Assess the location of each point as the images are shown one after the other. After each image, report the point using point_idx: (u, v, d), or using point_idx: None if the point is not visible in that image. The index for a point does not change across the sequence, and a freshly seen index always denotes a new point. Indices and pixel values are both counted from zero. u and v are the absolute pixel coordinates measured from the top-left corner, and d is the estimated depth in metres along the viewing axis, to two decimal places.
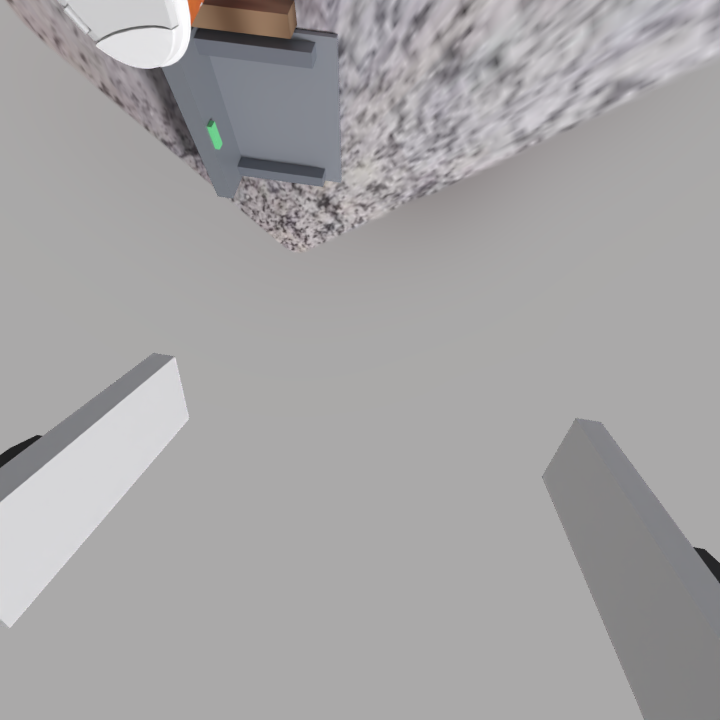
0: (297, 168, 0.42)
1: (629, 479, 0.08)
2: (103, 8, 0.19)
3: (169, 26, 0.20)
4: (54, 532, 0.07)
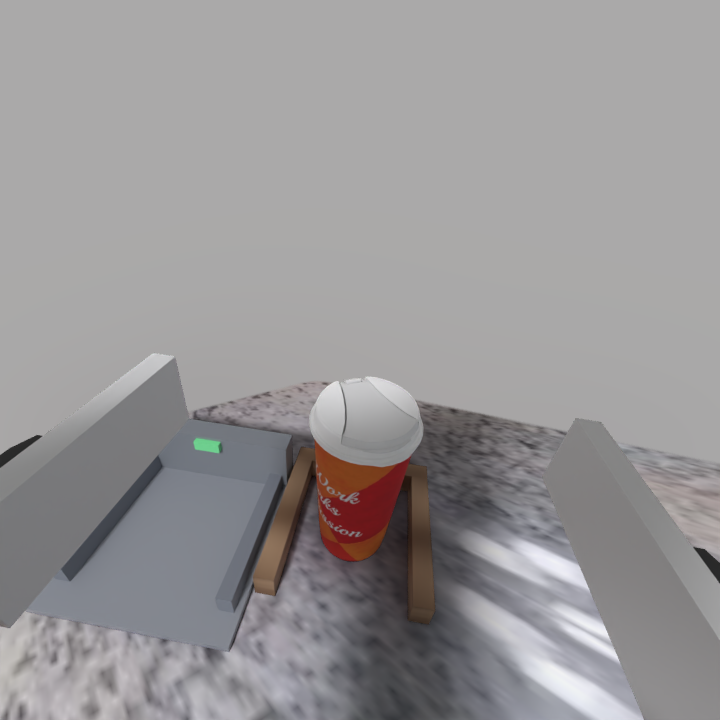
0: (103, 532, 0.28)
1: (629, 479, 0.08)
2: (358, 398, 0.24)
3: (344, 435, 0.21)
4: (54, 532, 0.07)
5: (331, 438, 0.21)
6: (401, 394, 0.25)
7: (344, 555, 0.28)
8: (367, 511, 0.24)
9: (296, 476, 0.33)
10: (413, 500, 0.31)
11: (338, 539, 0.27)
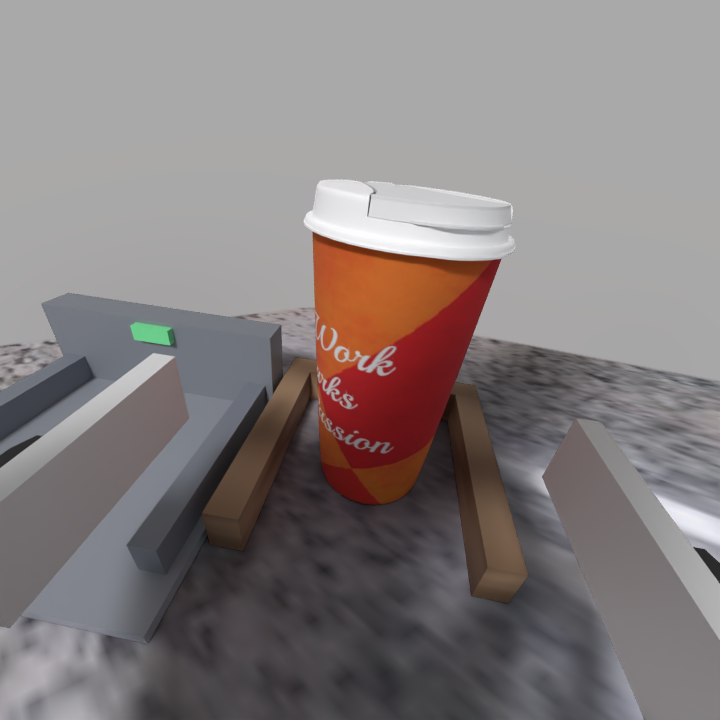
0: None
1: (629, 479, 0.08)
2: (394, 188, 0.13)
3: (374, 197, 0.10)
4: (54, 532, 0.07)
5: (347, 211, 0.10)
6: (468, 194, 0.14)
7: (359, 493, 0.17)
8: (406, 394, 0.13)
9: (286, 387, 0.22)
10: (462, 422, 0.21)
11: (351, 461, 0.16)
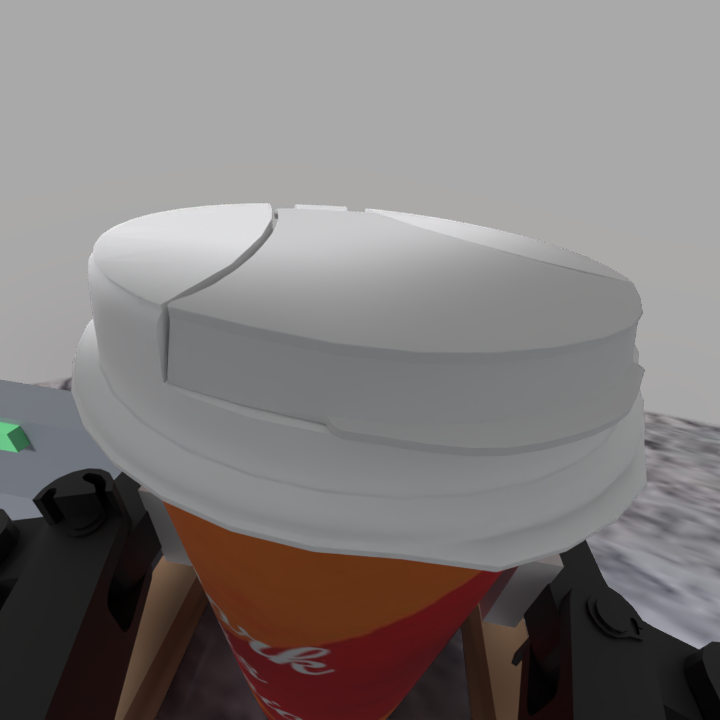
0: None
1: None
2: (334, 227, 0.06)
3: (188, 310, 0.03)
4: None
5: (115, 346, 0.03)
6: (497, 234, 0.07)
7: None
8: (367, 688, 0.06)
9: None
10: None
11: None
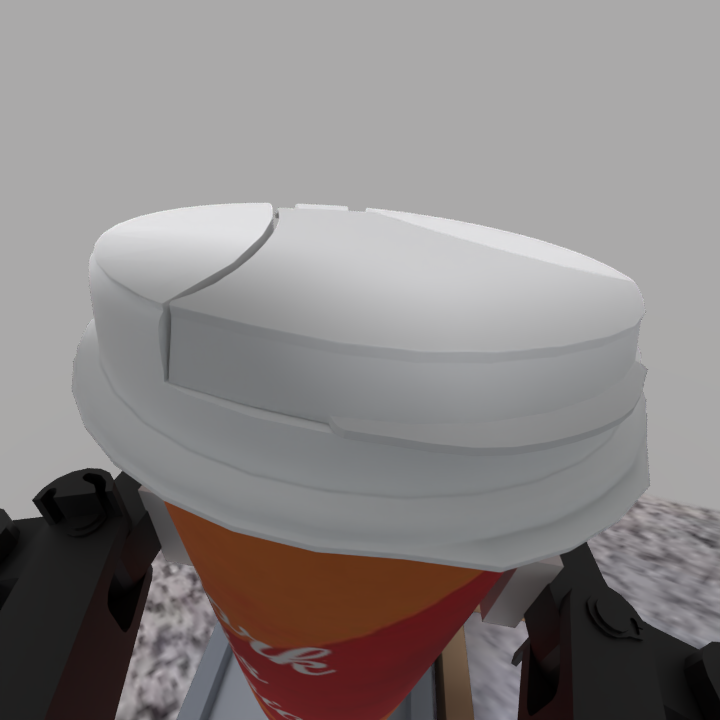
0: None
1: None
2: (336, 226, 0.06)
3: (189, 310, 0.03)
4: None
5: (116, 345, 0.03)
6: (498, 234, 0.07)
7: None
8: (368, 688, 0.06)
9: None
10: None
11: None
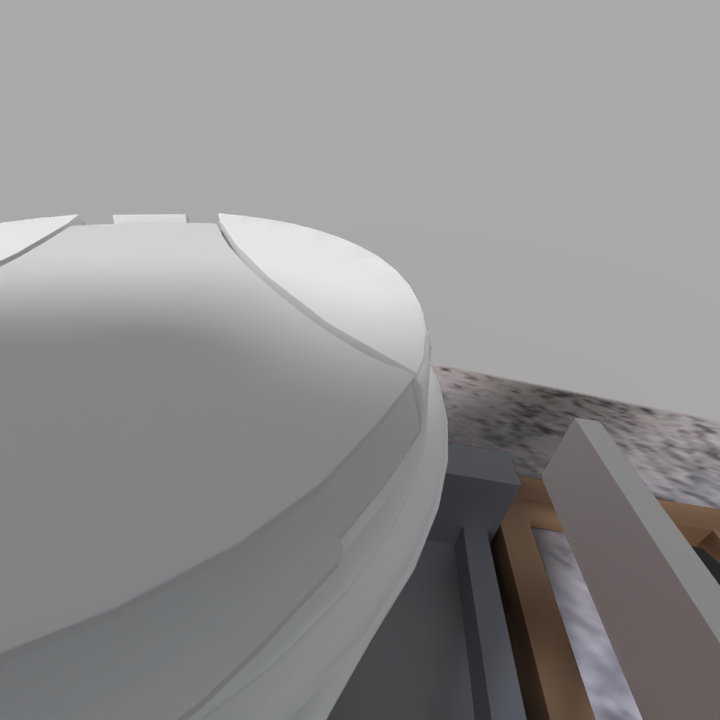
0: None
1: (627, 478, 0.08)
2: (92, 264, 0.04)
3: None
4: None
5: None
6: (342, 258, 0.05)
7: None
8: None
9: (513, 532, 0.17)
10: None
11: None
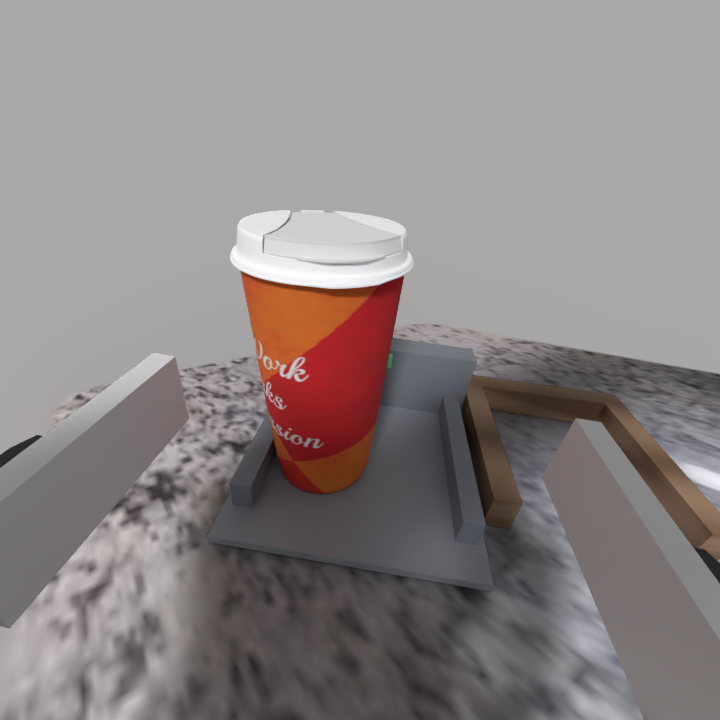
0: (272, 454, 0.22)
1: (629, 479, 0.08)
2: (312, 219, 0.15)
3: (267, 237, 0.12)
4: (54, 532, 0.07)
5: (250, 247, 0.13)
6: (382, 221, 0.16)
7: (304, 482, 0.20)
8: (323, 397, 0.15)
9: (475, 400, 0.27)
10: (625, 426, 0.26)
11: (292, 454, 0.18)
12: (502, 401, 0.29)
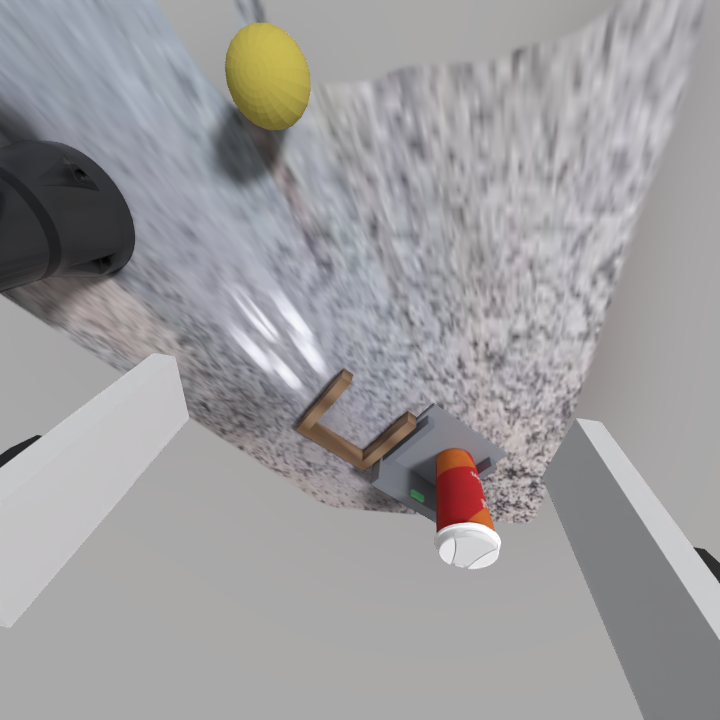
0: None
1: (629, 479, 0.08)
2: (469, 557, 0.42)
3: (495, 548, 0.40)
4: (54, 532, 0.07)
5: (498, 547, 0.41)
6: (444, 550, 0.42)
7: (471, 457, 0.52)
8: (475, 490, 0.46)
9: (375, 457, 0.54)
10: (317, 419, 0.51)
11: (476, 471, 0.50)
12: (352, 449, 0.55)
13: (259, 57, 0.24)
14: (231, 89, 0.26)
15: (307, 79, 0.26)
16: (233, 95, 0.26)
